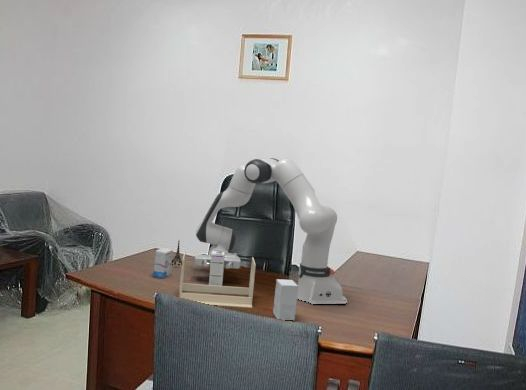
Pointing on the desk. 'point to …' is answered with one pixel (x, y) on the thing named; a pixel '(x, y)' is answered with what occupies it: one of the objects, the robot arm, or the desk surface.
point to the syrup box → (216, 268)
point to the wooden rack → (218, 291)
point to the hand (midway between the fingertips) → (217, 266)
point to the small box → (285, 299)
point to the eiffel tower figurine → (177, 257)
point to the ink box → (162, 263)
